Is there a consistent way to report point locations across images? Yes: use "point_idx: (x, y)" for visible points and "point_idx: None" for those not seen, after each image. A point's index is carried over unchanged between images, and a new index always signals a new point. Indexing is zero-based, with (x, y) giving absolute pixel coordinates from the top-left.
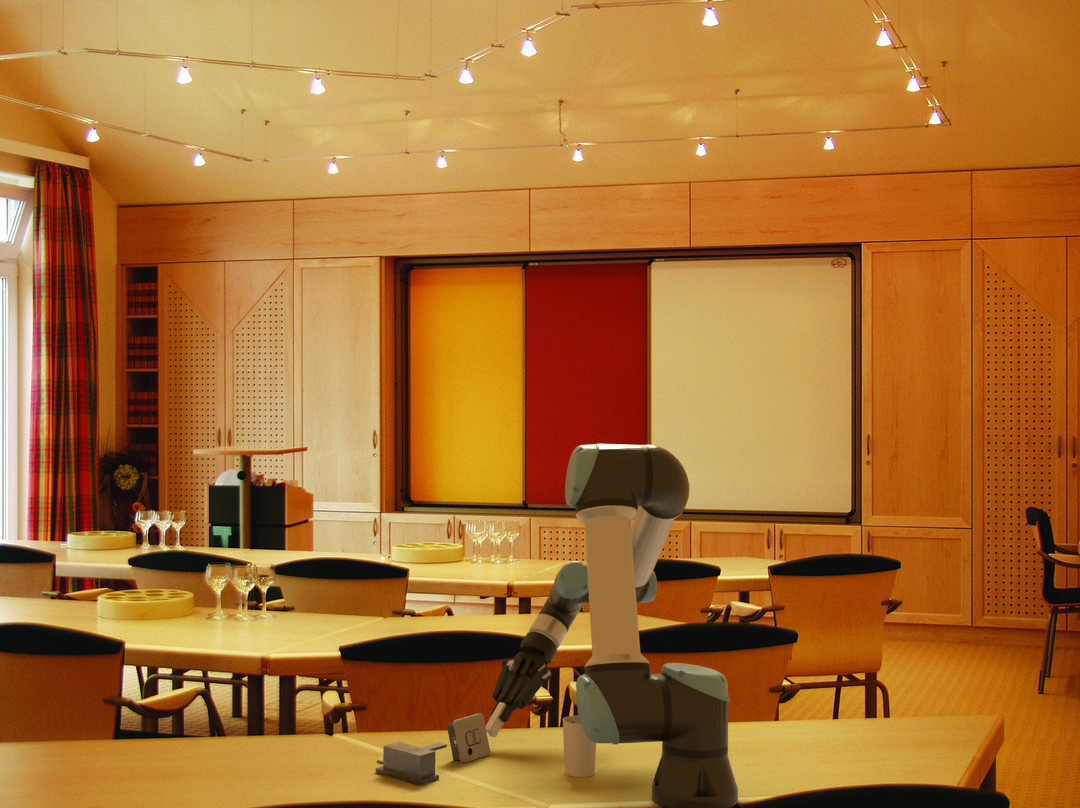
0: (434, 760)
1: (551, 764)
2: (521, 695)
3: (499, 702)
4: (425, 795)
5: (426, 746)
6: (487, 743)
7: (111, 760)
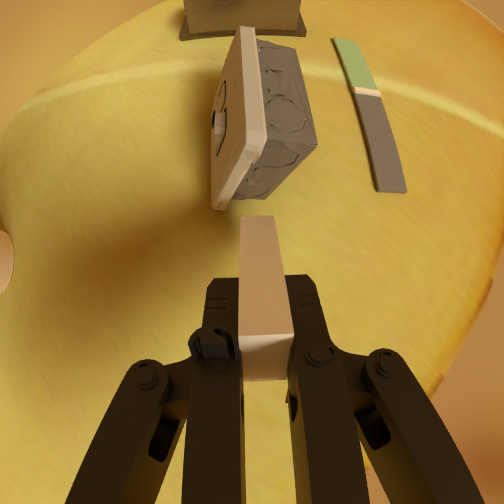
0: (186, 13)
1: (46, 268)
2: (118, 418)
3: (293, 332)
4: (151, 14)
5: (390, 142)
6: (215, 191)
7: (462, 9)
